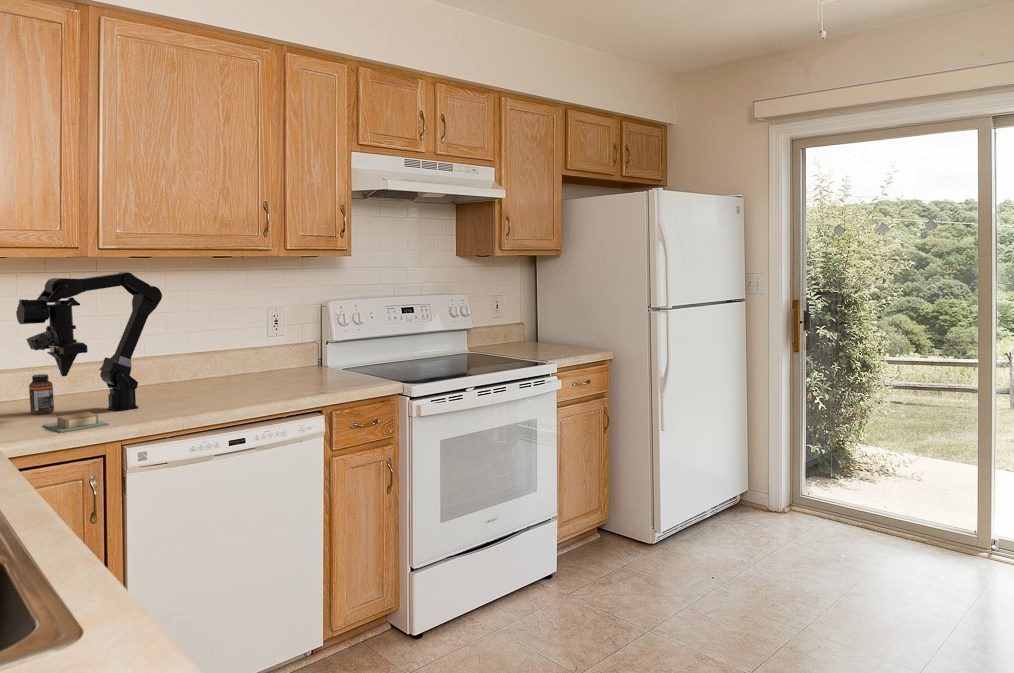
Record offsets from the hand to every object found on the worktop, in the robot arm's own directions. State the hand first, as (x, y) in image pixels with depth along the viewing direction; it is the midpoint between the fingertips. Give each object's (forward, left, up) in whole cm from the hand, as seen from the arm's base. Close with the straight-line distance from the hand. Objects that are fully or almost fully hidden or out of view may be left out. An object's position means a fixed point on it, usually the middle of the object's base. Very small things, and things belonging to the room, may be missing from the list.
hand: (64, 376), depth 210 cm
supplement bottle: (+2, -12, -12) cm, 17 cm away
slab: (+3, +13, -10) cm, 17 cm away
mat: (+3, +14, -12) cm, 19 cm away
